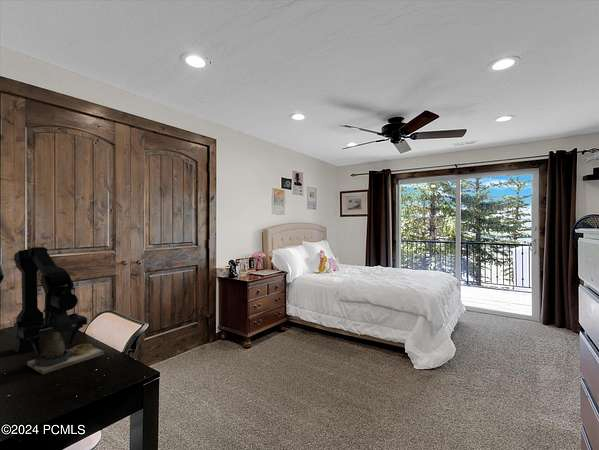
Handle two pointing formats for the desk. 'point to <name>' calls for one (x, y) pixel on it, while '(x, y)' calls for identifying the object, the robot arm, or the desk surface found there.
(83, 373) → the desk surface
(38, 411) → the desk surface
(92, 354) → the fitting board
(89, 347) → the narrow collar
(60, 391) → the desk surface
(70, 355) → the collar
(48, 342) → the decorative egg
